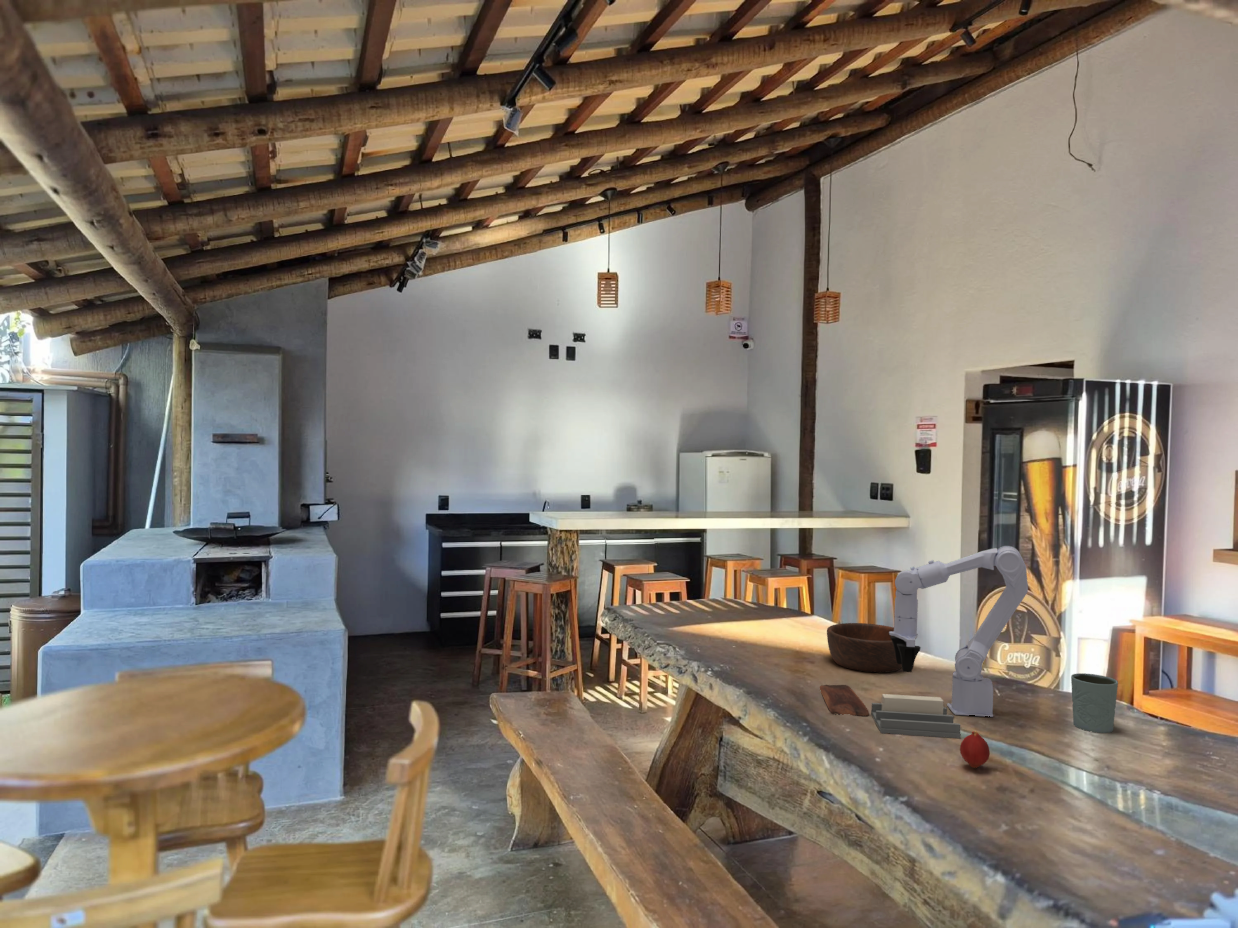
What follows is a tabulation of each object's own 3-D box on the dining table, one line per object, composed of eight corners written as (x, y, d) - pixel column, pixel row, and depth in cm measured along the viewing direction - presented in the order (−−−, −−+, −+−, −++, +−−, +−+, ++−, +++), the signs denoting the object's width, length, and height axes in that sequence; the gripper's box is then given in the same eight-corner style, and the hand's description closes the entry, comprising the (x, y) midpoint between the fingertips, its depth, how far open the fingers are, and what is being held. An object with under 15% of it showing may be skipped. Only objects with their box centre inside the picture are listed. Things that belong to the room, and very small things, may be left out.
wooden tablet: (816, 680, 237) (852, 678, 236) (817, 688, 237) (853, 686, 236) (830, 711, 210) (870, 709, 209) (830, 720, 211) (871, 717, 209)
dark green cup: (1092, 735, 200) (1094, 685, 199) (1059, 721, 209) (1061, 673, 209) (1126, 732, 202) (1128, 682, 202) (1092, 718, 212) (1094, 671, 212)
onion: (964, 760, 182) (965, 723, 182) (992, 767, 178) (993, 730, 178) (955, 767, 177) (957, 730, 177) (984, 775, 174) (985, 737, 174)
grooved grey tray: (945, 718, 209) (945, 706, 209) (960, 738, 196) (961, 725, 195) (871, 713, 212) (871, 701, 212) (881, 732, 198) (881, 720, 198)
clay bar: (939, 717, 207) (940, 697, 207) (942, 721, 204) (943, 700, 204) (881, 713, 209) (882, 693, 209) (883, 717, 206) (884, 697, 206)
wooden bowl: (826, 671, 250) (827, 637, 250) (825, 651, 274) (826, 620, 274) (914, 679, 244) (915, 644, 244) (906, 657, 269) (907, 625, 268)
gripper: (885, 610, 228) (883, 659, 229) (895, 621, 214) (893, 674, 214) (911, 611, 227) (910, 660, 228) (924, 622, 213) (922, 675, 213)
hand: (904, 667), depth 221 cm, fingers open, 7 cm apart
